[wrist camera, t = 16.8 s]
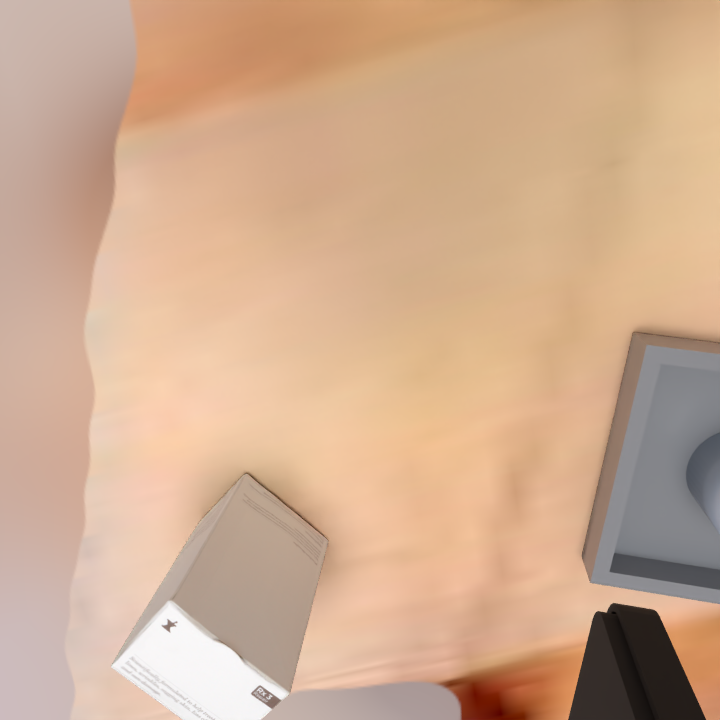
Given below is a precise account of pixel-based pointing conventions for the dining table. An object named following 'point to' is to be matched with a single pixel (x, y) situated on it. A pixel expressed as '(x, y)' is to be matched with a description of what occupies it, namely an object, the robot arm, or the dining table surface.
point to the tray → (658, 474)
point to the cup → (706, 478)
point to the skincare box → (229, 611)
